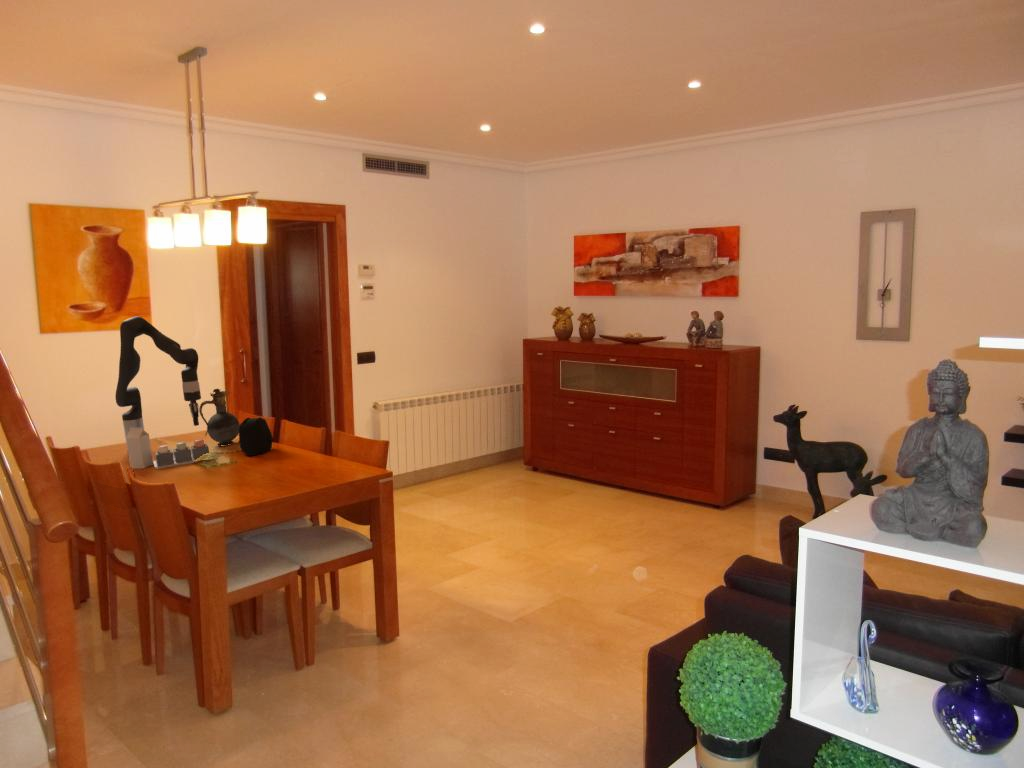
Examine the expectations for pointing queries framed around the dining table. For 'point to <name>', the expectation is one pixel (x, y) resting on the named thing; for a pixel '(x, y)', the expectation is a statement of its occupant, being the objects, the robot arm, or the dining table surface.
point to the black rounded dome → (255, 436)
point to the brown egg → (199, 443)
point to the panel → (179, 457)
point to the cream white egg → (163, 449)
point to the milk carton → (139, 448)
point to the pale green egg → (181, 446)
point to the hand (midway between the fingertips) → (196, 425)
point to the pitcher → (221, 420)
